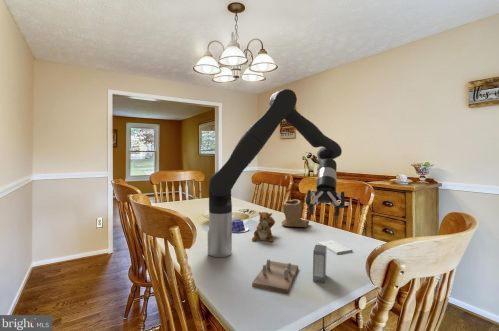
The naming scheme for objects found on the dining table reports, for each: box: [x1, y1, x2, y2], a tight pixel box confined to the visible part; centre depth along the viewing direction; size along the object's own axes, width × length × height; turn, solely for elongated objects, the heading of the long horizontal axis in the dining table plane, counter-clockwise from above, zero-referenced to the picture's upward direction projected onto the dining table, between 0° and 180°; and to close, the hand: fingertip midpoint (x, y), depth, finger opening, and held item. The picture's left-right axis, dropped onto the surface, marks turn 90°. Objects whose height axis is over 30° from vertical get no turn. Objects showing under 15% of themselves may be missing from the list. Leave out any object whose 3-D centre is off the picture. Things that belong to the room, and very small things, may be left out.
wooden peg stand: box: [252, 258, 299, 294], centre depth 83 cm, size 17×11×4 cm, turn 159°
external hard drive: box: [317, 239, 354, 255], centre depth 109 cm, size 2×8×12 cm
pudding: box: [232, 218, 249, 233], centre depth 134 cm, size 12×12×5 cm
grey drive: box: [312, 244, 328, 284], centre depth 82 cm, size 6×4×10 cm, turn 159°
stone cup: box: [281, 199, 310, 228], centre depth 140 cm, size 15×12×15 cm
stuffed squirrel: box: [251, 211, 276, 243], centre depth 121 cm, size 10×14×13 cm
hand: (323, 215), depth 92 cm, fingers open, 8 cm apart
